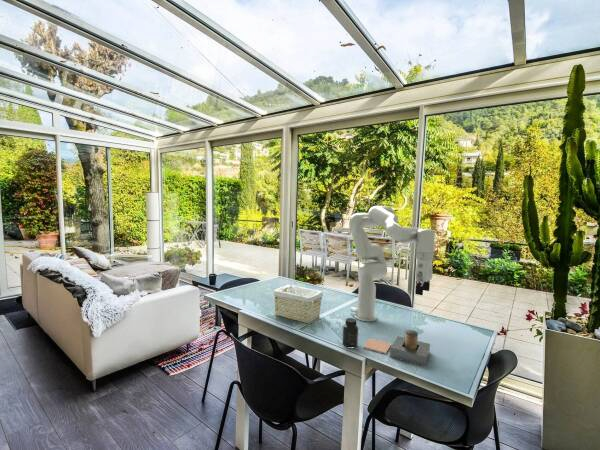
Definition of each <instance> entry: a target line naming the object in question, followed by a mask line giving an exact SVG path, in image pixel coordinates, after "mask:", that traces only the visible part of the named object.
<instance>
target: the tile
mask: <svg viewBox="0 0 600 450" xmlns="http://www.w3.org/2000/svg"><path fill="white" fill-rule="evenodd" d="M391 346H392V343H389V342H386V341H382V340H379V339H378V340H377V339H374V338H369V339H368V340H367V342H366V343H365V344H364V345H363V347H362V348H363V349H364V348H367V349H366V350H368V349H371V350H370V351H372V350H374V351H373V352H375V351H378V352H377V353H379V352H380V353H379V354H382V353H384V354H383V355H387V353H388V352H389V351H390V349H389V348H391ZM387 351H388V352H387Z"/></svg>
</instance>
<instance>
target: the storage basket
mask: <svg viewBox="0 0 600 450" xmlns="http://www.w3.org/2000/svg"><path fill="white" fill-rule="evenodd" d="M273 291H274V292H273V297H274V312H275V313H274V314H275V315H276V316H277V317H281V316H282V318H285V319H289V320H294V321H296V320H297V322H302V323H305V324H308V323H311V322H312V321H314V320H316V319H317V318H318V317H319V316H320V315H321V314H320V313H321V309H322V308H321V307H322V299H323V295H324V293H323V291H321V290H317V289H313V288H307V287H304V286H297V285H294V284H286V285H284V286H281V287H279V288H276V289H274V290H273Z"/></svg>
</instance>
